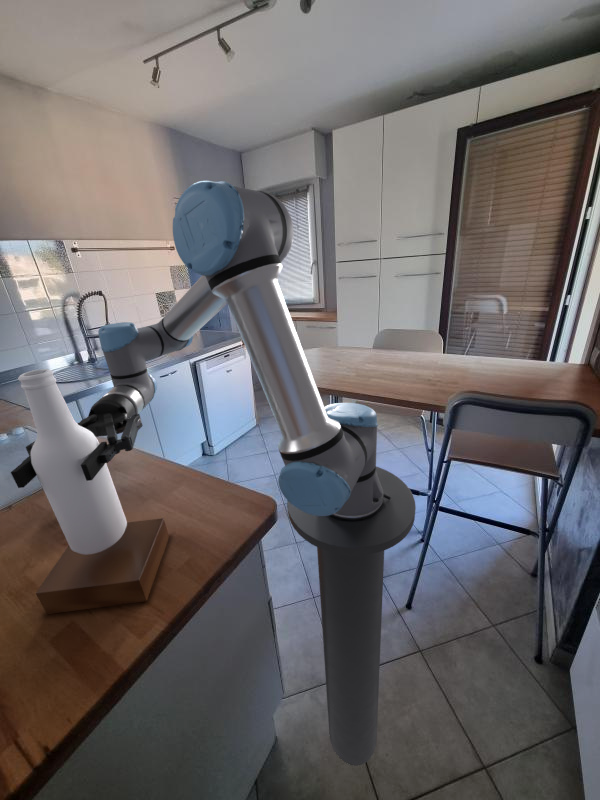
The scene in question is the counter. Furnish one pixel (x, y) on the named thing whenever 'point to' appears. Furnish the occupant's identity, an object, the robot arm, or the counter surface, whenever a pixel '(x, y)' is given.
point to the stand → (107, 571)
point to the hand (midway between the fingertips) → (52, 476)
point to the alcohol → (71, 469)
